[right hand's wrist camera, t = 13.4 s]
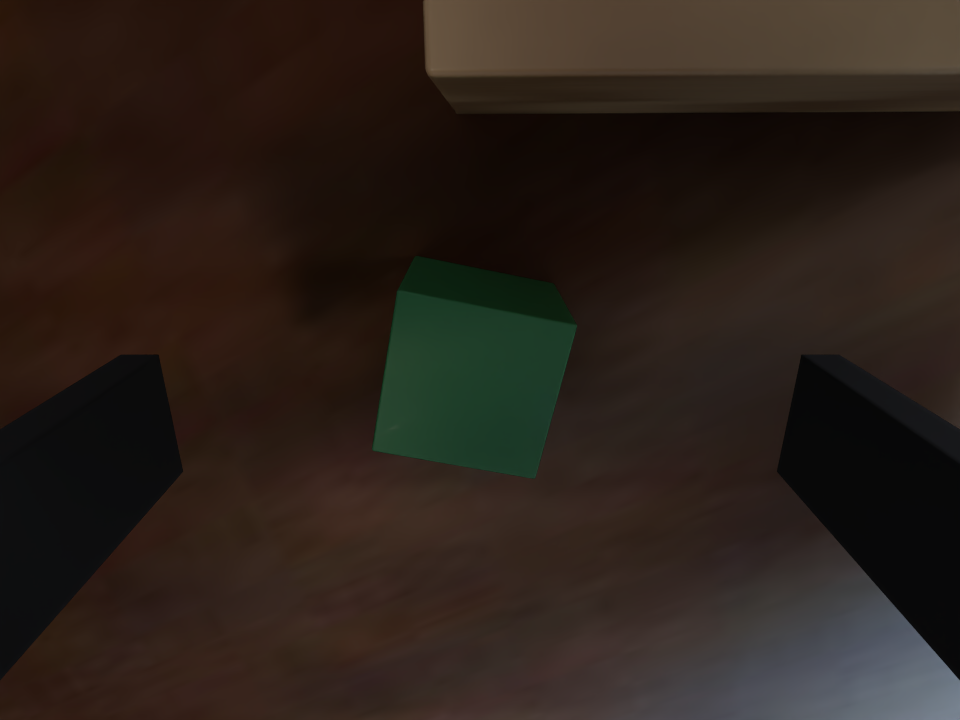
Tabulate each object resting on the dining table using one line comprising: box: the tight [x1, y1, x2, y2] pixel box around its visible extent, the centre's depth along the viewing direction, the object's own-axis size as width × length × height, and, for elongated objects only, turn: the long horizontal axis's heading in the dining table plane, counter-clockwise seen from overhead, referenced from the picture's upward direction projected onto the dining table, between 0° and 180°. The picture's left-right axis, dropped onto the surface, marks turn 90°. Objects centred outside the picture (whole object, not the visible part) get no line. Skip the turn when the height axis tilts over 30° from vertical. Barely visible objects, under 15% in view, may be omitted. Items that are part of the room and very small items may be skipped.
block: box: [372, 256, 577, 479], centre depth 16 cm, size 4×4×4 cm
